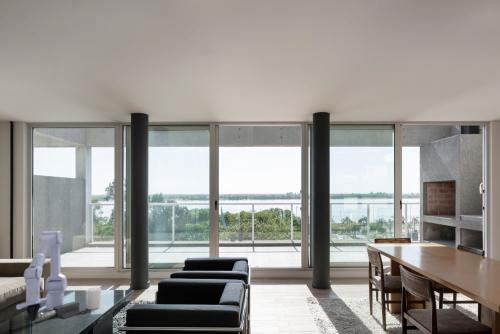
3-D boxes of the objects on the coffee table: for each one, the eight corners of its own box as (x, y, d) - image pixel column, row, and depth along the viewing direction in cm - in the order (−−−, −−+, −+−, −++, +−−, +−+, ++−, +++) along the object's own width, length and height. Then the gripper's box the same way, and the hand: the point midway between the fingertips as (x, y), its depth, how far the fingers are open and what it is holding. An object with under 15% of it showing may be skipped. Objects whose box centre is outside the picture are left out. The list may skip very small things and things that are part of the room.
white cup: (95, 309, 201) (95, 290, 202) (82, 309, 203) (82, 290, 204) (104, 305, 209) (104, 287, 210) (91, 305, 211) (91, 287, 212)
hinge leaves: (65, 318, 188) (65, 309, 189) (46, 314, 196) (46, 306, 197) (86, 311, 198) (86, 303, 199) (67, 308, 207) (67, 300, 207)
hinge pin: (42, 321, 185) (42, 313, 185) (37, 320, 186) (38, 312, 187) (68, 313, 197) (68, 306, 197) (64, 312, 198) (64, 305, 199)
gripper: (22, 296, 175) (22, 326, 174) (52, 289, 188) (51, 317, 187) (14, 295, 179) (13, 324, 178) (43, 288, 191) (43, 315, 190)
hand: (32, 320), depth 182 cm, fingers closed
